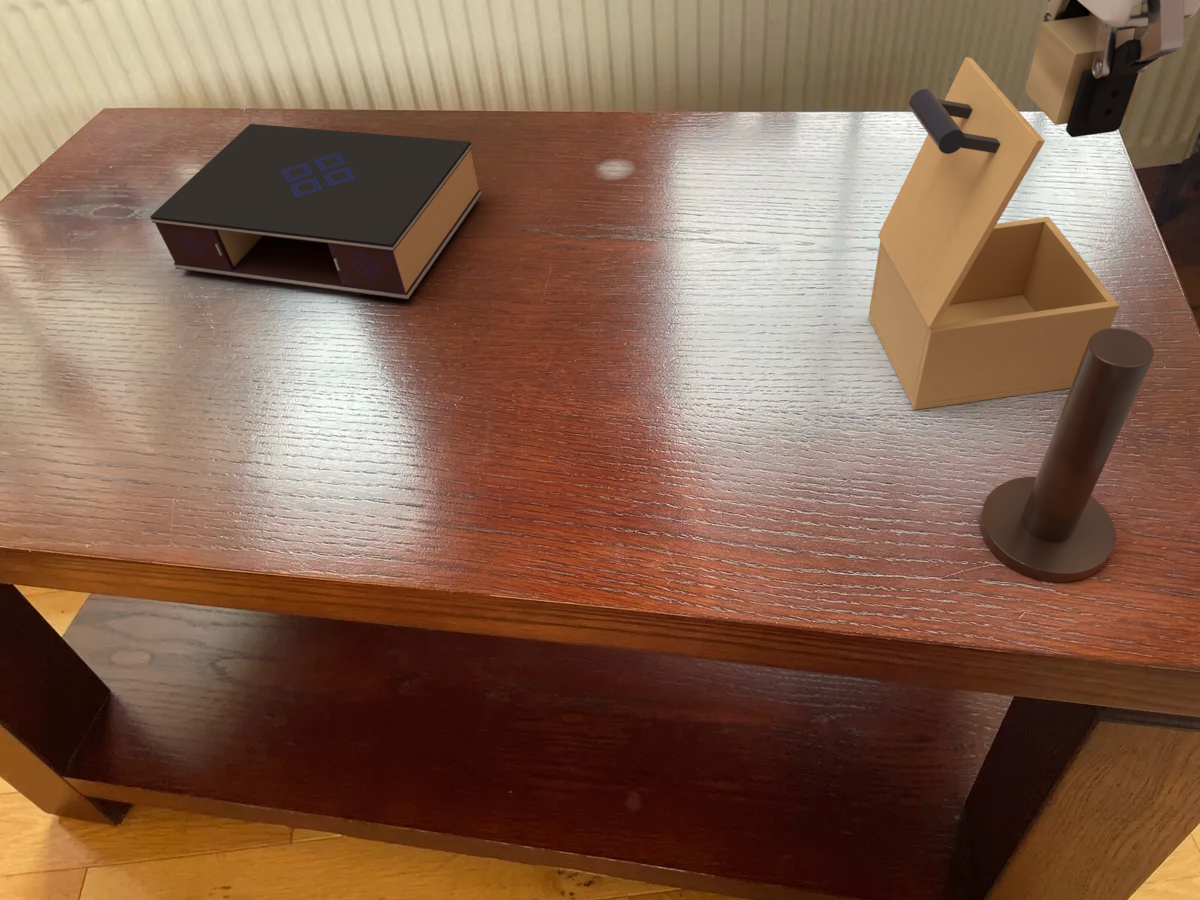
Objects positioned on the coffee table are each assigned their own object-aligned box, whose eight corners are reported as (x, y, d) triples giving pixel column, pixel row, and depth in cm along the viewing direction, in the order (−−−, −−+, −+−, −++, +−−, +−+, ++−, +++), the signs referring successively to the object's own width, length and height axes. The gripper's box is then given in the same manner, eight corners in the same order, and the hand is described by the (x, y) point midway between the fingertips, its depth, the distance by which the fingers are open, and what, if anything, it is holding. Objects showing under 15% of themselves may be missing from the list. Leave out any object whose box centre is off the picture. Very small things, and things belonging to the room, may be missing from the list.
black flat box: (410, 307, 84) (391, 245, 79) (178, 275, 91) (148, 216, 86) (483, 201, 95) (470, 141, 90) (272, 180, 101) (250, 123, 97)
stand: (1107, 496, 63) (1196, 308, 51) (1114, 593, 58) (1216, 409, 46) (981, 477, 65) (1039, 292, 53) (977, 569, 60) (1041, 387, 48)
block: (1092, 82, 61) (1114, 12, 58) (1126, 115, 58) (1151, 43, 54) (1024, 91, 61) (1042, 21, 57) (1055, 125, 58) (1075, 53, 54)
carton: (1024, 295, 78) (1048, 216, 72) (1087, 385, 70) (1120, 305, 64) (868, 316, 78) (879, 239, 72) (913, 410, 70) (931, 331, 64)
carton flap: (972, 57, 62) (910, 46, 61) (1045, 141, 54) (976, 129, 53) (883, 236, 72) (828, 229, 71) (935, 328, 64) (874, 321, 63)
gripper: (1363, -203, 41) (1202, 172, 54) (1161, -278, 52) (1069, 47, 65) (1193, -180, 41) (1074, 190, 54) (1028, -260, 52) (964, 61, 65)
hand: (1072, 108), depth 60 cm, fingers closed on block, 4 cm apart
